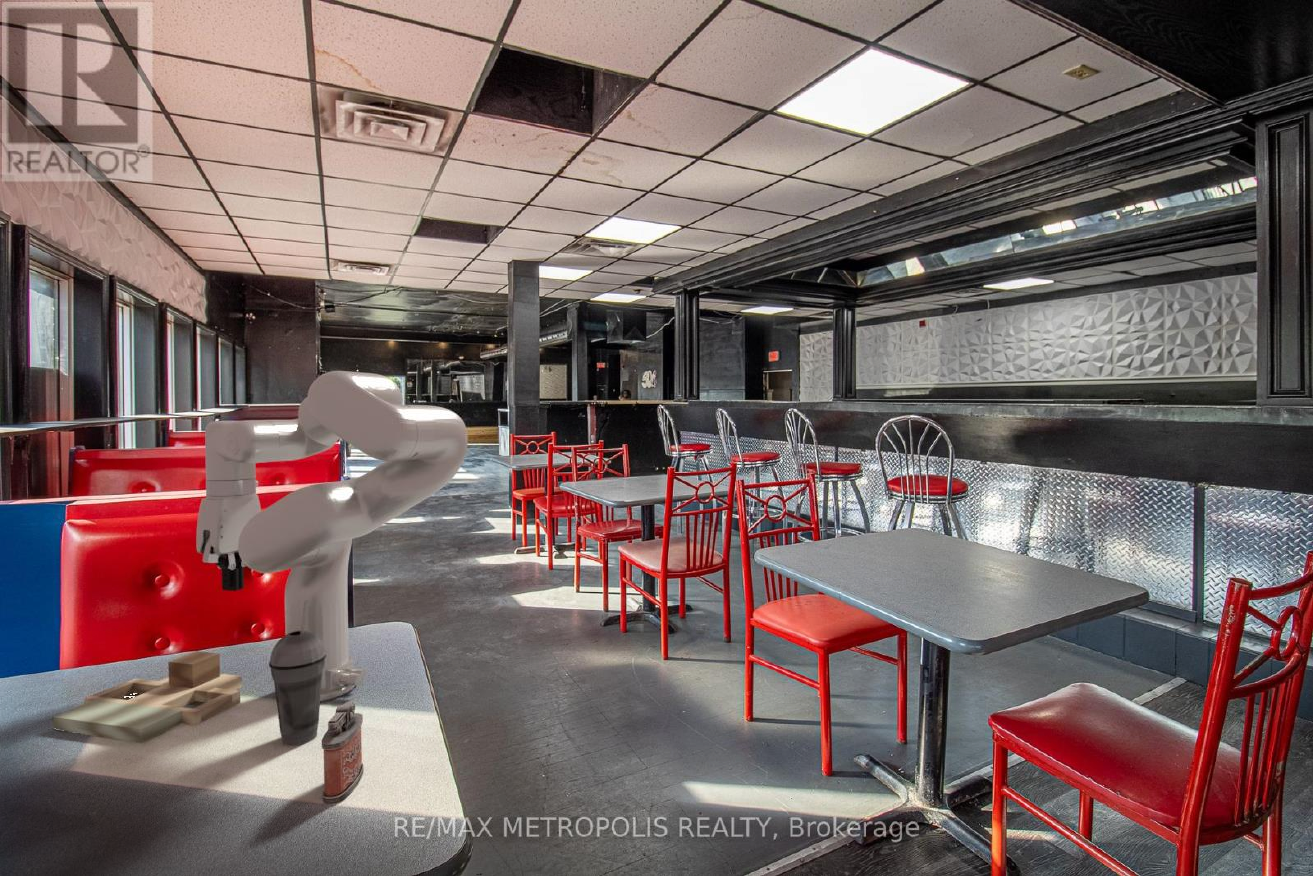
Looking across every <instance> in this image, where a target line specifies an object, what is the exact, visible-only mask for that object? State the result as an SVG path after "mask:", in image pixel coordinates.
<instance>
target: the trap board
mask: <svg viewBox="0 0 1313 876" xmlns="http://www.w3.org/2000/svg"><path fill="white" fill-rule="evenodd" d="M242 680H243V679H242V675H237V674H227V673H220V677H218V678H215V679H213V680H211V681H209V682H206V683H204V684H202V685H199V686H197V687H195V688H186V687H178V686H169V676H167V677H165V678H163V679H161V680H153V679H152V680H151V679H145V678H133V679H130V680H128V681H125V682H123V683H120V684H118V685H115V686H112V687H110V688H107V689H104V690H103V691H99V692H97V693H94V694H91V695H88V696H87V697H84V699H83V700H84V702H83V703H84V704H82V705H79V706H76V707H74V708H72V709H70V710H67V711H63V712H62V713H59V714H56V715H54V716H52V727H53V728H56V729H60V730H64V731H68V732H67V733H71V732H75V733H74V734H78V733H81V734H80V735H84V734H85V736H93V737H99V738H105V739H113V740H118V741H125V742H134V743H141V744H143V743H145V742H147V741H149V740H151V739H153V738H156V737H157V736H160V735H162V734H163V733H165V732H168V731H169V730H172V729H174V728H176V727H178V726H180V725H189V726H197V725H199V724H201V723H203V722H204V721H207V720H208V719H211V718H212V717H215V716H217V715H219V714H221V713H222V712H225V711H226V710H229V709H231V708H233V707H234V706H237V705H239V704H241V690H239V689H242V687H243V681H242ZM133 693H137V694H135V695H133ZM130 694H132V695H130ZM124 696H135V697H134V698H133V697H131V698H129V697H126V698H124ZM53 728H52V729H53ZM64 731H63V732H64Z"/></svg>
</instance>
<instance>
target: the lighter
mask: <svg viewBox="0 0 1313 876" xmlns="http://www.w3.org/2000/svg"><path fill="white" fill-rule="evenodd" d="M355 710H356V701H354V700H352V701H351V700H350V701H346V702H345V703H344V704H343V705H338V706H337V707H336V709H335V712H334V715H333V716H332V717H331V718H330V719H329V720H328V722H327V730H326V732H325V733H324V735H323V737H322V739H321V749H322V750H323V784H324V785H323V789H324V790H323V792H322V804H324V805H327V806H332V805H338V804H340V803H343V802H344V801H345V800H346V799H347V798H348V797H349V796H350V795H352V794H353V792H354V790H355V789H356V788H357V787H358V786H359V784H360V783H361V782H360V781H361V780H362V778H363V774H364V773H365V772H364V771H365V769H364V765H365V764H364V763H363V755H362V754H363V753H362V750H363V749H362V745H363V744H362V724H363V721H364V718H363V714H362V713H359V712H357V713H355Z"/></svg>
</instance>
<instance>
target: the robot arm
mask: <svg viewBox="0 0 1313 876" xmlns="http://www.w3.org/2000/svg"><path fill="white" fill-rule="evenodd" d="M297 412H298V413H297V415H298V416H297V417H298V418H295V419H249V420H247V419H245V420H216V421H215V420H214V421H211V422H208V424H207V425H206V426H205V428H204V431H205V432H204V436H205V437H204V438H205V444H204V446H205V447H204V448H205V449H204V451H205V494H206V495H205V496H206V497H205V498H202V499H201V502H200V505H199V511H198V516H197V522H196V523H197V524H196V537H195V538H196V539H195V541H196V551H197V553H199V554H202V562H203V563H209V564H215V565H216V566H217V568H218V569H219V570H221V589H222V590H223V591H230V592H236V591H239V590H240V591H241V590H243V589H244V588H245V586H244V585H245V577H244V576H245V575H244V573H245V572H244V570H245V568H244V567H248V568H249V569H251V570H252V571H255V572H258V573H261V574H272V573H273V574H274V573H278V572H284V571H286V570H289V569H291V571H290V572H289V575H288V577H287V580H286V584H285V588H284V618H285V619H284V623H285V635H287V634H289V633H291V632H294V631H301V625H302V616H303V607H304V601H308V607H307V616H306V625H305V631H308V632H311V633H313V634H315V635H316V636H317V637H318V638H319V639H320V640H321V642H322V644H323V647H324V650H325V654H326V657H325V663H324V669H323V671H322V682H321V696H320V702H325V701H328V700H331V699H335V698H338V697H340V696H344V695H345V694H347V693H349V692H350V690H351V691H352V690H353V689H355V688H356V687H360V686H361V685H362V683H363V681H364V678H365V677H366V676H367V670H366V669H362V668H355V659H354V658H349V653H350V652H349V610H348V608H349V607H348V606H349V605H348V602H349V601H348V597H349V596H348V575H349V574H348V571H349V570H348V569H349V562H350V561H349V559H350V554H351V549H352V544H353V539H356V538H360V537H363V536H366V535H369V534H370V533H372V532H373V531H375V530H377V529H378V528H380V527H382V526H383V525H384V524H386V523H388V522H390V521H391V520H393V519H395V518H397V517H398V516H400V515H402V514H404V512H406V511H408V510H410V509H412V508H413V507H415V506H417V505H418V504H420V503H422V502H423V501H425V500H426V499H428V498H430V497H431V496H433V495H435V494H437V492H439V491H440V490H441V489H442V488H444V487H445V486H446V485H447V484H449V483H450V481H451V480H453V478H454V477H455V476H456V474H457V473H458V471H459V470H460V468H461V467H462V464H463V462H464V460H465V457H466V455H467V449H468V441H469V440H468V439H469V438H468V431H467V427H466V424H465V422H464V420H463V419H462V417H460V416H459V415H458V414H457V413H455V412H454V411H452V410H451V409H448V408H445V407H442V406H438V405H437V406H436V405H425V404H422V405H421V404H403V394H402V391H401V388H400V387H399V386H398V384H397V383H396V382H394V381H393V380H392V379H391V378H389V377H387V376H384V375H381V374H378V373H372V372H360V371H358V372H357V371H348V370H347V371H346V370H332V371H331V370H330V371H327V372H325V373H322V374H321V375H319V376H318V377H316V379H314V381H313V382H312V384H311V385H310V387H309V388H308V391H307V396H306V397H305V398H303V400H302V401H301V403H300V404H299V407H298V411H297ZM338 440H339V441H340V440H343V441H345V442H347V443H348V444H350V445H351V446H353V447H354V448H355V449H357V450H359V451H360V452H361V453H363V454H365V455H367V456H368V457H370V458H373V459H375V460H378V461H382V463H381V464H379V465H377V466H376V467H375V468H373V469H371V470H369V471H368V472H366V473H365V474H362V475H361V476H358V477H356V478H353V479H348V480H346V479H345V480H339V481H332V482H331V481H330V482H323V483H316V484H311V485H307V486H304V487H300V488H298V489H296V490H294V491H291V492H290V493H288V494H287V495H285V496H283V497H281V498H280V499H278V500H277V501H276V502H274V503H273V504H270V505H269V506H268V507H266V508H264V509H263V510H262V509H261V503H260V499H259V495H258V494H257V487H258V486H259V481H258V480H257V479H256V477H257V474H256V468H257V467H256V464H259V463H263V464H264V463H270V462H271V463H272V462H287V461H289V462H290V461H297V460H300V459H305V458H308V457H311V456H314V455H318V454H321V453H323V452H326V451H327V450H330V449H331V448H333V447H334V445H335V444H336V443H337V442H338ZM355 686H356V687H355ZM354 687H355V688H354ZM348 691H349V692H348ZM337 696H338V697H337Z"/></svg>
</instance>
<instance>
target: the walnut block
mask: <svg viewBox="0 0 1313 876" xmlns="http://www.w3.org/2000/svg"><path fill="white" fill-rule="evenodd" d="M220 655H221V654H220V653H217V652H206V651H197V650H196V651H193V652H190V653H188V654H186V655H183V656H180V657H177V658H175V659H173V660H172V659H171V660H169V661H168V677H169V686H178V687H186V688H195V687H197V686H199V685H202V684H204V683H206V682H209V681H211V680H213V679H215V678H218V677H220V674H221V669H220V668H221V663H220V661H221V660H220Z"/></svg>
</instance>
